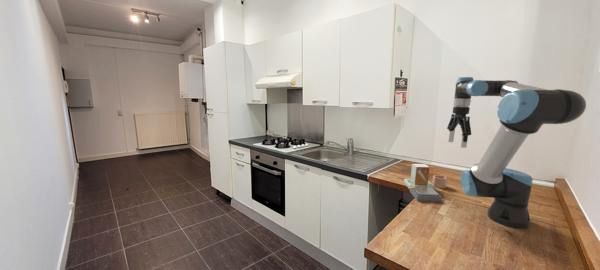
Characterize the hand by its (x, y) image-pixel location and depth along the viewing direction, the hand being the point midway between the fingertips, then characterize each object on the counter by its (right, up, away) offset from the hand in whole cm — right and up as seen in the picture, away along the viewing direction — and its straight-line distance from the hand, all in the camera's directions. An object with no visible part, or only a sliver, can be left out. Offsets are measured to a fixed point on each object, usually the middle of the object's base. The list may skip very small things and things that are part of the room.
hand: (456, 144), depth 137 cm
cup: (-1, -26, +15) cm, 30 cm away
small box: (-14, -26, +14) cm, 33 cm away
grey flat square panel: (-18, -26, 0) cm, 32 cm away
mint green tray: (-14, -26, +15) cm, 33 cm away
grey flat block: (-18, -29, 0) cm, 34 cm away
